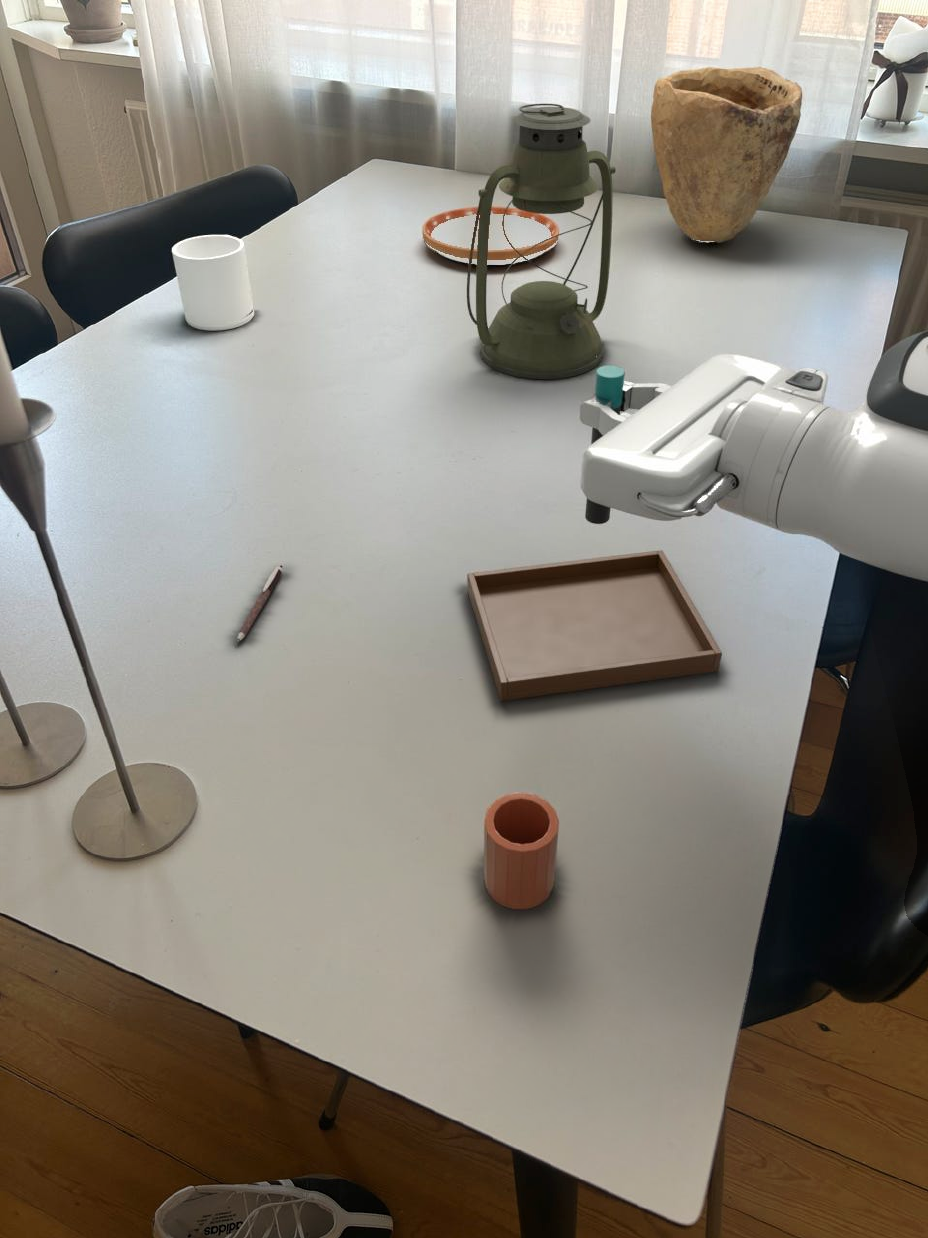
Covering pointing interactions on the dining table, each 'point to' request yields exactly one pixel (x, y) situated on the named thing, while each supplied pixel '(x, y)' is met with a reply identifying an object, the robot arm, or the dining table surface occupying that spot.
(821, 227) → the dining table surface
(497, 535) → the dining table surface
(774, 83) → the rough clay pot
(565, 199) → the lantern
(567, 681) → the tray
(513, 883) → the pen cup
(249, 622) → the pen
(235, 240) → the mug
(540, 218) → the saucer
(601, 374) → the marker
